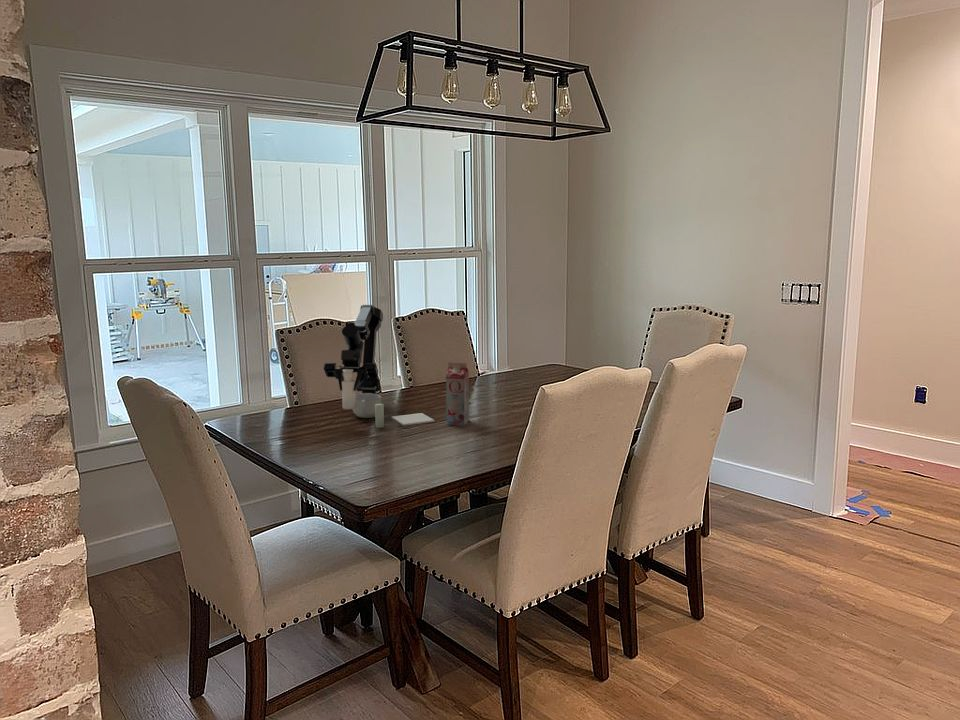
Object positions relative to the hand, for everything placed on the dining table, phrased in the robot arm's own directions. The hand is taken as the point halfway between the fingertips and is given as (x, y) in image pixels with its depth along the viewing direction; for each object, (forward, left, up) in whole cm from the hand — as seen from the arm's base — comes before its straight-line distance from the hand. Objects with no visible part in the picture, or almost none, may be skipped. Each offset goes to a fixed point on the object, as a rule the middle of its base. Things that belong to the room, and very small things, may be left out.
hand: (347, 390), depth 266 cm
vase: (-1, +1, -7) cm, 7 cm away
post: (+4, +10, -13) cm, 17 cm away
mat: (+1, +24, -13) cm, 28 cm away
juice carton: (+12, +37, -14) cm, 41 cm away
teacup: (-11, +10, -14) cm, 20 cm away
